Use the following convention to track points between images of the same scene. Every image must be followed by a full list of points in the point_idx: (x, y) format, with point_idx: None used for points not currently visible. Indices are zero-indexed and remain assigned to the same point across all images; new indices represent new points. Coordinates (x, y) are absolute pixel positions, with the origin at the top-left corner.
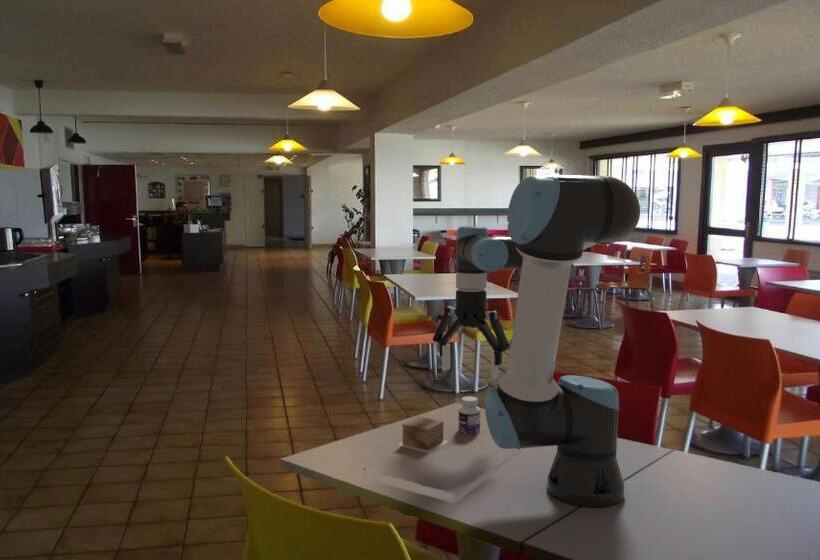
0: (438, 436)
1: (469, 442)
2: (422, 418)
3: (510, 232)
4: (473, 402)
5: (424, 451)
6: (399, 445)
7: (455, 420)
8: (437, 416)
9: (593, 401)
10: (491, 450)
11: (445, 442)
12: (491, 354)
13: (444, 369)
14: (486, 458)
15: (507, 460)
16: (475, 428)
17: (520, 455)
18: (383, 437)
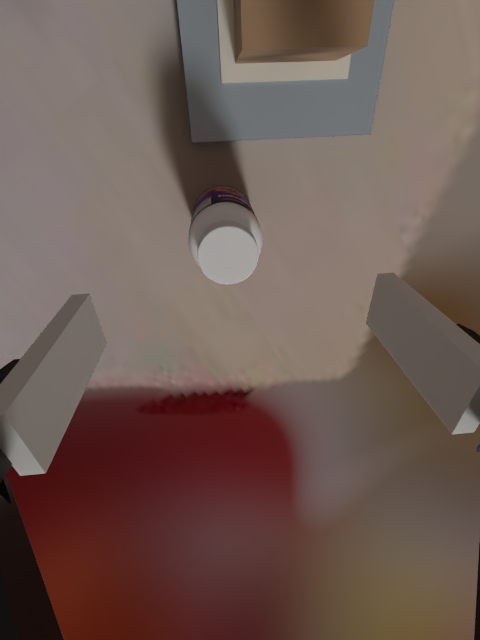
0: (236, 9)
1: (193, 170)
2: (340, 26)
3: None
4: (200, 239)
5: None
6: None
7: (308, 295)
8: (359, 293)
9: None
10: (103, 148)
11: (224, 62)
12: (12, 400)
13: (383, 278)
14: (63, 62)
15: (5, 93)
16: (193, 212)
17: (15, 164)
18: (456, 19)
